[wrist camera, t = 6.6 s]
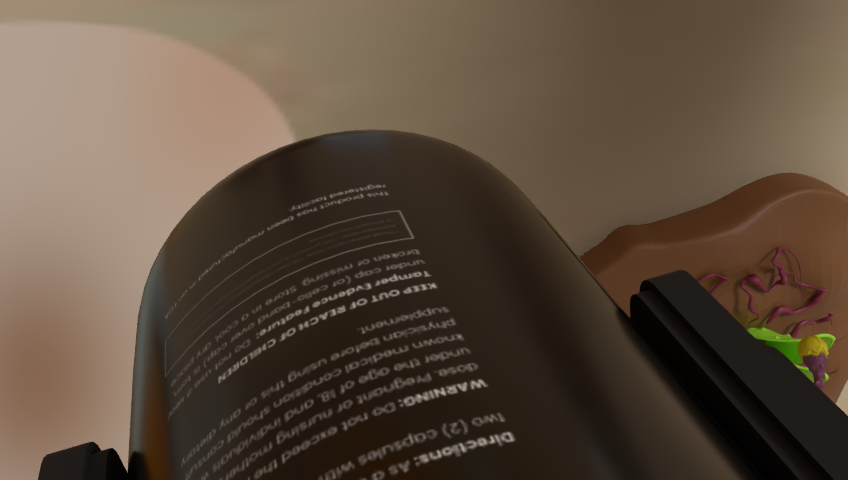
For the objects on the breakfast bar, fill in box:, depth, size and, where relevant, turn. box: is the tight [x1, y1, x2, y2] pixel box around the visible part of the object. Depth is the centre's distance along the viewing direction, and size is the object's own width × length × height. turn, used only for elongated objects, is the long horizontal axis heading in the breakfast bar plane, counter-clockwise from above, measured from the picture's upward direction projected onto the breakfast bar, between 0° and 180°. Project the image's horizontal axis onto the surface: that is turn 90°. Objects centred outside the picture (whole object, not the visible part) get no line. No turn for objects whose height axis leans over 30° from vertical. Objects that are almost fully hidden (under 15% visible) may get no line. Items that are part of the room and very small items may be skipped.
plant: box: [580, 173, 848, 403], centre depth 41 cm, size 20×20×11 cm
